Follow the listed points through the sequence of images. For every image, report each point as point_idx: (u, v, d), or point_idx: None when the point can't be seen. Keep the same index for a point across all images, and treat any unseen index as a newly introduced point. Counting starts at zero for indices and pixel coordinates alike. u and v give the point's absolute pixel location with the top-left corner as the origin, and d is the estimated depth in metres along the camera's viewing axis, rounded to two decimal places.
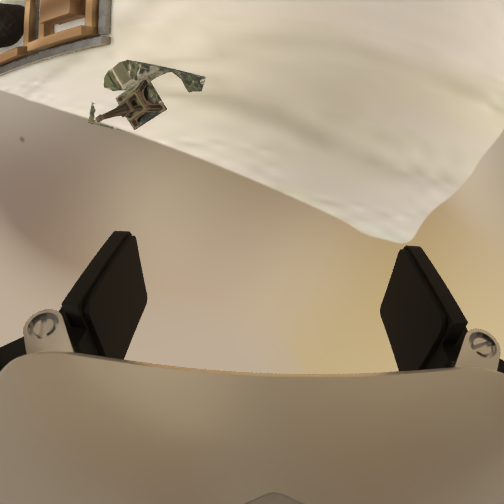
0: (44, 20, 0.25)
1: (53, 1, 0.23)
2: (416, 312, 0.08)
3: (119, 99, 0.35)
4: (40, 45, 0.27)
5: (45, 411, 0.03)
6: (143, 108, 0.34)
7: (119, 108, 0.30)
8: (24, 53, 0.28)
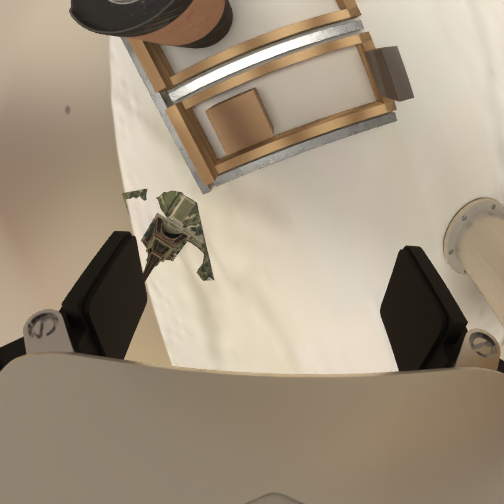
0: (210, 118, 0.29)
1: (239, 121, 0.29)
2: (416, 312, 0.08)
3: (158, 224, 0.40)
4: (176, 129, 0.29)
5: (45, 411, 0.03)
6: (162, 260, 0.40)
7: None
8: (161, 90, 0.29)
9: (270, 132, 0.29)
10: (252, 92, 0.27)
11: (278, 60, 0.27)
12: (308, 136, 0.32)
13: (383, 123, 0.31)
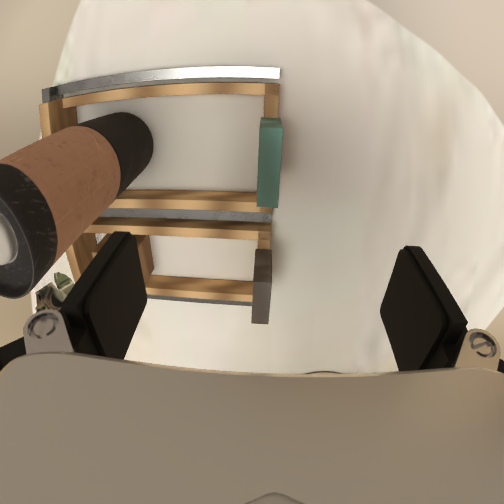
0: None
1: None
2: (416, 312, 0.08)
3: (49, 292, 0.40)
4: (67, 254, 0.31)
5: (45, 411, 0.03)
6: None
7: None
8: None
9: None
10: None
11: (170, 228, 0.32)
12: (175, 295, 0.36)
13: (250, 304, 0.38)
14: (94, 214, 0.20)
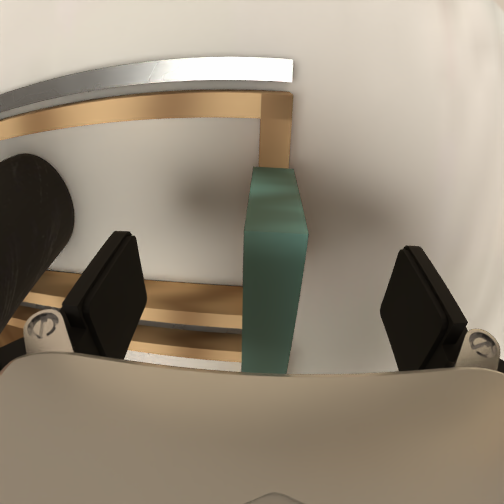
0: None
1: None
2: (416, 312, 0.08)
3: None
4: None
5: (45, 411, 0.03)
6: None
7: None
8: None
9: None
10: None
11: None
12: None
13: None
14: None
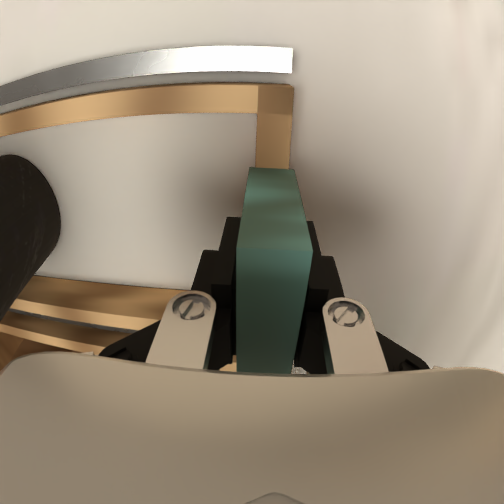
0: None
1: None
2: None
3: None
4: None
5: (45, 411, 0.03)
6: None
7: None
8: None
9: None
10: None
11: (103, 348, 0.18)
12: None
13: None
14: None
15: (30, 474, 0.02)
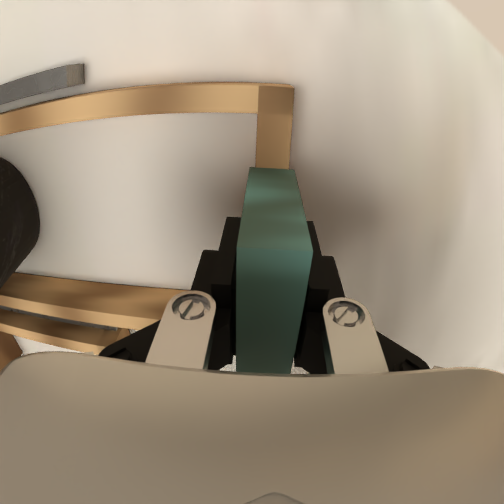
0: None
1: None
2: None
3: None
4: None
5: (45, 411, 0.03)
6: None
7: None
8: None
9: None
10: None
11: (2, 324, 0.18)
12: None
13: None
14: None
15: (30, 474, 0.02)
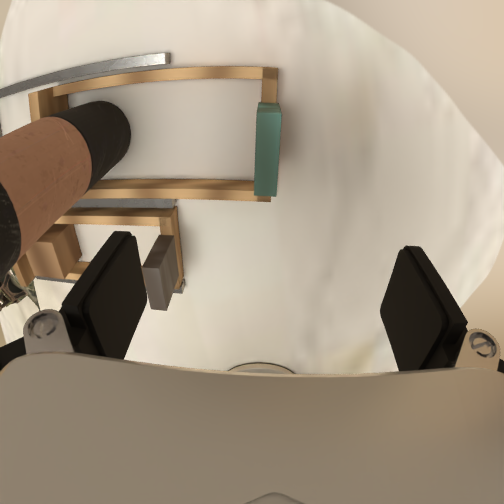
0: None
1: (42, 259, 0.31)
2: (416, 312, 0.08)
3: (6, 279, 0.39)
4: None
5: (45, 411, 0.03)
6: (6, 305, 0.39)
7: None
8: None
9: (62, 276, 0.32)
10: (51, 244, 0.30)
11: (83, 217, 0.30)
12: None
13: None
14: (63, 204, 0.18)
15: (30, 474, 0.02)
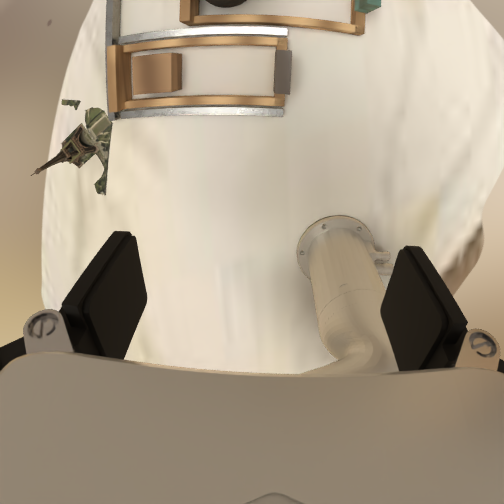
0: (133, 63, 0.32)
1: (151, 72, 0.32)
2: (416, 312, 0.08)
3: (78, 131, 0.40)
4: (108, 63, 0.31)
5: (45, 411, 0.03)
6: (70, 161, 0.41)
7: (57, 161, 0.37)
8: (183, 22, 0.30)
9: (170, 88, 0.34)
10: (170, 54, 0.31)
11: (204, 38, 0.32)
12: (201, 102, 0.37)
13: (269, 114, 0.38)
14: None
15: (30, 474, 0.02)
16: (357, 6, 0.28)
